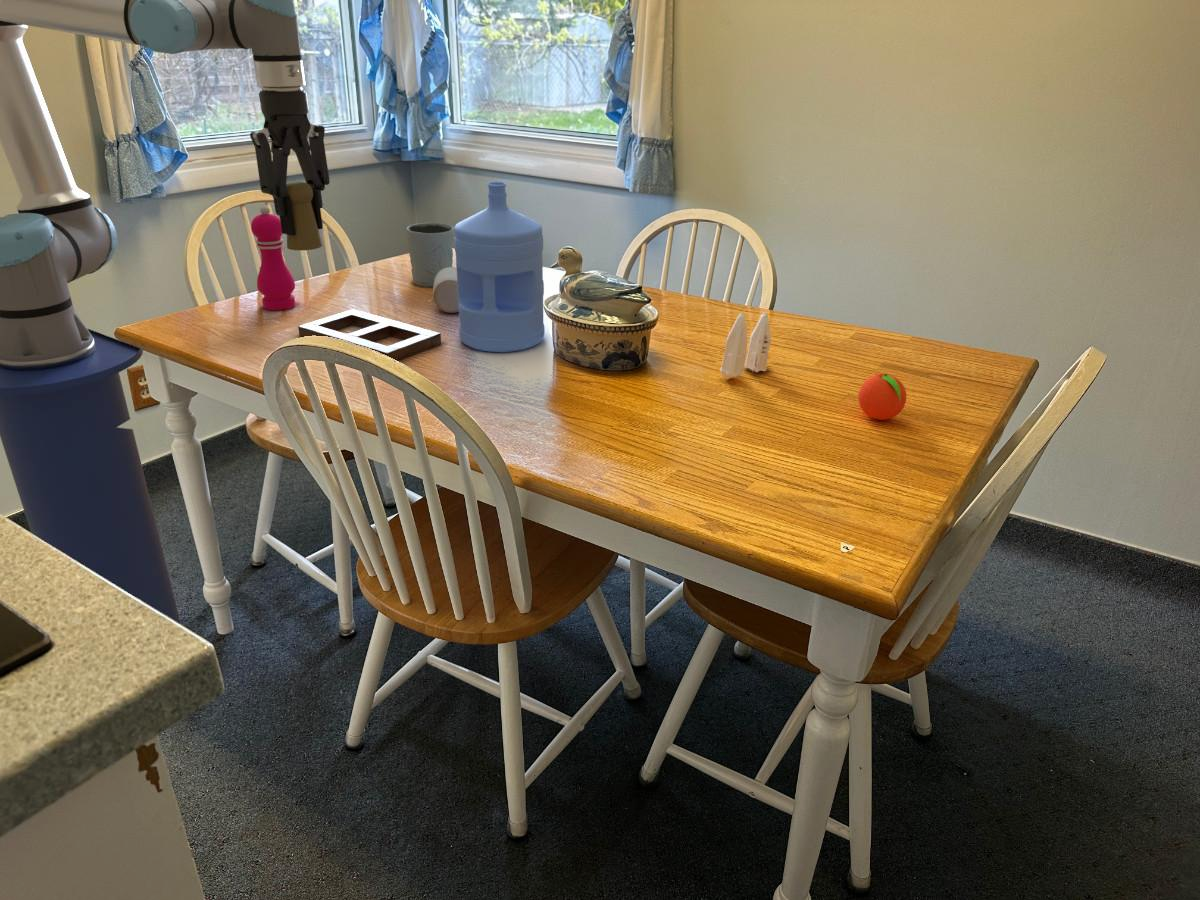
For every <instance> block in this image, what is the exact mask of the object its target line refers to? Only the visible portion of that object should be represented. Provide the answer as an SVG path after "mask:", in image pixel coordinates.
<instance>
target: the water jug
mask: <svg viewBox="0 0 1200 900" xmlns="http://www.w3.org/2000/svg"><path fill="white" fill-rule="evenodd" d="M487 187H488V193H487V197H488V206H487V207H486V208H485V209H483V210H481V211H478V212H477V213H475V214H472V215H471V216H469V217H467V218H465V219H462V220H461V221H459V222H457V223H456V224H455V226H454V227H453V228H454V234H453V249H454V252H455V266H456V268H457V293H458V304H459V312H458V320H459V321H458V322H459V326H458V334H459V339H460V340H461V342H462V343H463V344H464V345H466V346H467V347H469V348H472V349H475V350H478V351H483V352H490V353H491V352H492V353H510V352H519V351H523V350H527V349H530V348H532V347H535V346H537V345H538V344H540V343H541V342H542V340H543V339H544V337H545V331H546V329H545V328H546V327H545V323H544V294H545V284H544V276H543V275H544V273H543V272H544V270H543V268H544V267H543V265H544V263H543V251H544V235H543V226H542V225H541V223H539V222H538V221H537V220H535V219H532V218H530V217H528V216H526V215H524V214H522V213H520V212H517V211H515V210H514V209H512V208H509V206H508V204H507V196H508V195H507V191H506V188H507V183H506V182H502V181H491V182H488V183H487Z"/></svg>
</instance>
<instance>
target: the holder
mask: <svg viewBox="0 0 1200 900" xmlns="http://www.w3.org/2000/svg"><path fill="white" fill-rule="evenodd" d="M352 325H353V326H356V327H360V328H361V329H358V330H355V331H352V332H349V333H344V332H341V331H337V330H340V329H343V328H346V327H349V326H352ZM297 330H298V335H299V336H298V337H301V338H303V337H304V336H312V335H316V336H328V337H333V338H337V339H341V340H345V341H348V342H351V343H354V344H356V345H360V346H364V347H367V348H370V349H372V350H375V351H378V352H380V353H382V354H385V355H387V356H389V357H391V358H393V359H395V360H397V361H400V360H403V359H406V358H407V357H411V356H412V355H415V354H418V353H420V352H421V353H422V352H423V351H425V350H428V349H431V348H434V347H435V346H438V345H442V333H441V332H437V331H433V330H430V329H427V328H423V327H419V326H416V325H412V324H409V323H405V322H401V321H398V320H394V319H390V318H387V317H382V316H380V315H376V314H371V313H369V312H365V311H360V310H357V309H353V308H352V309H349V310H346V311H343V312H338V313H336V314H333V315H329V316H327V317H323V318H320V319H317V320H314V321H310V322H308V323H307V322H306V323H304V324H301V325H297ZM390 336H392V337H395V338H399V339H401V341H398V342H395V343H393V344H391V345H385V344H382V343H378V342H376V341H379V340H382V339H384V338H388V337H390Z"/></svg>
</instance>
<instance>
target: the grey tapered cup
mask: <svg viewBox="0 0 1200 900" xmlns="http://www.w3.org/2000/svg"><path fill="white" fill-rule="evenodd" d="M454 228H455V227H453V226H452V225H450V224H448V223H441V222H423V223H421V222H420V223H414V224H410V225H408V226H407V227H406V236H407V242H408V250H409V258H410V259H409V260H410V266H411V276H412V277H411V278H412V282H413V284H414V285H416V286H419V287H426V288H433V286H434V279H435V277H436V275H437V274H438V272H439V271H441V270H442V269H444V268H447V267H453V263H454V261H453V257H454V253H453V251H454V250H453V249H454V235H455V234H454Z"/></svg>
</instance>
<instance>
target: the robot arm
mask: <svg viewBox="0 0 1200 900" xmlns="http://www.w3.org/2000/svg"><path fill="white" fill-rule="evenodd" d="M29 27H35V28H39V29H45V30H51V31H55V32H57V31H58V32H62V33H67V34H68V33H69V34H75V35H78V36H85V37H90V38H96V39H103V40H109V41H114V42H119V43H126V44H131V45H137V46H142V47H144V48H147V49H149V50H150V51H152V52H156V53H161V54H170V55H176V54H177V55H178V54H181V53H186V52H195V51H209V50H240V49H241V50H250V49H251V52H252V59H253V60H252V61H253V65H254V71H255V72H254V73H255V80H256V81H255V82H256V86H257V87H258V88H261V90H259V92H258V98H259V104H260V110H261V114H262V115H263V117H264V122H263V128H262V129H260V130H258V131H251V132H250V133H249V137H250V140H251V142H252V144H253V146H254V151H255V158H256V165H257V172H258V178H259V185H260V192H261V193H263V194H267V195H270V196H272V199H273V205H274V211H275V215H276V216H278V217H279V218H280V222H281V229H282V233H283V234H282V235H287V234H288V235H296V232H295V226H294V219H293V212H292V205H291V199H290V196H285V194H286V184H287V180H288V179H287V178H288V162H289V156H290V155H291V150H292V151H293V152H294V153H295V155H296V156H295V157H296V158H297V162H298V165H299V166H300V169H301V172H302V175H303V177H304V180H305V183H307V184H309V185H310V186H311V188H312V190H313V198H312V200H311V204H312V208H313V212H314V215H315V219H316V223H317V227H318V230H321V229H322V230H323V229H324V227H323V226H324V225H323V219H322V211H321V209H322V208H323V205H324V204H323V198H322V191H325V190H326V186H328V185H329V184H330V182H331V181H330V175H329V168H328V160H327V153H326V146H325V141H324V140H325V132H326V128H325V127H324V126H323V125H318V124H312V123H311V121H310V119H309V117H308V113H309V112H310V108H309V107H310V106H309V101H308V93H307V91H306V90H305V89H303V87H305V86H306V80H305V71H304V64H303V58H302V57H303V56H302V50H301V42H300V35H299V26H298V14H297V11H296V6H295V1H294V0H0V145H1V147H2V148H3V152H4V154H5V157H6V159H7V161H8V164H9V167H10V169H11V171H12V174H13V177H14V179H15V182H16V184H17V186H18V189H19V192H20V194H21V199H20V200H19V202H18V204H17V205H16V210H17V213H10V214H6V215H4V216H0V368H3V369H7V370H14V371H34V370H44V369H51V368H56V367H61V366H65V365H69V364H72V363H75V362H78V361H81V360H83V359H85V358H87V357H89V356H90V355H92V354H93V353H94V352H95V350H96V346H95V342H94V339H93V337H92V335H91V334H90V332H89V331H88V329H89V328H88V327H87V326H86V324H85V323H84V322H83V320H82V319H81V317H80V316H79V314H78V312H77V311H76V310H75V307H74V305H73V301H72V297H71V293H70V290H69V285H68V284H69V283H72V282H74V281H77V280H78V279H80V278H82V277H85V276H87V275H91V274H94V273H96V272H97V271H99V270H101V269H102V268H103V267H104V266H106V265H107V264H108V263H109V262H111V260H112V259H113V257H114V255H115V254H116V251H117V248H118V234H117V231H116V228H115V225H114V223H113V221H112V220H111V218H110V217H109V216H108V214H106V213H104V212H102V210H101V209H100V208H98V207H96V206H95V205H94V204H93V201H92V199H91V196H90V194H89V193H88V192H86V191H84V190H83V189H80V188H79V187H78V186H77V185H76V182H75V179H74V177H73V174H72V172H71V169H70V165H69V164H68V161H67V158H66V155H65V152H64V150H63V147H62V144H61V141H60V139H59V137H58V133H57V131H56V128H55V126H54V123H53V121H52V117H51V115H50V113H49V110H48V106H47V103H46V101H45V98H44V96H43V93H42V91H41V88H40V85H39V83H38V79H37V78H36V75H35V72H34V69H33V67H32V63H31V61H30V58H29V55H28V53H27V50H26V48H25V45H24V42H23V37H24V35H25V34H26V32H27V31H28V28H29ZM270 142H271V145H270Z"/></svg>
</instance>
